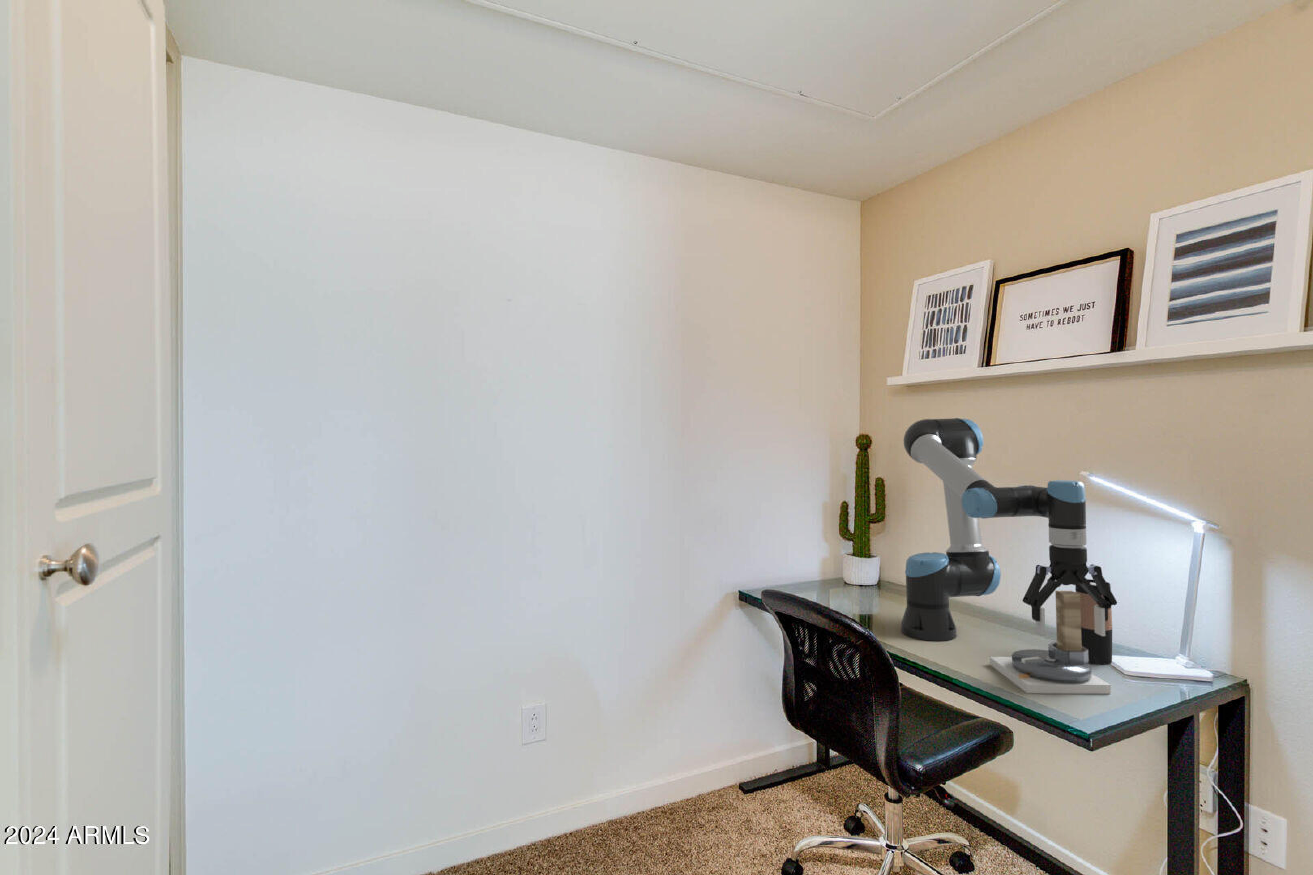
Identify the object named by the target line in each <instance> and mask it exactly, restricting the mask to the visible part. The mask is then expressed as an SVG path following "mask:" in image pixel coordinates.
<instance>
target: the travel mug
mask: <svg viewBox="0 0 1313 875" xmlns="http://www.w3.org/2000/svg"><path fill="white" fill-rule="evenodd" d="M1086 579H1087V580H1088V581H1089V582H1090V583H1091V585H1092V586H1093V587H1094V589H1095V590H1096V591H1097V592H1098V593H1099V594H1100V595H1101V596H1102V594H1101V592H1100V591H1099V589H1098V587H1097V585H1096V583H1095V582H1094V580H1093V579H1091V578H1090V579H1089V578H1086ZM1106 583H1107V585H1108V587H1109V588H1110V590H1111V591H1112V589H1111V587H1112V586H1111V583H1110V582H1107V581H1106ZM1074 586H1075V588H1074V589H1075V592H1076V593H1078V594H1080V607H1081V643H1082V646H1083V647H1085V648H1087V649H1088V659H1089V662H1088V663H1090V664H1095V665H1110V664H1112V663H1113V614H1112V612H1113V610H1112V609H1113V608H1112V607H1111V608H1110V609H1108V621H1105V636H1101V635H1099V634H1097V633H1095V623H1094V606H1099V605H1098V604H1097V603H1096V602H1095V601H1094V600H1093V598H1092V597H1091V596H1090V595H1089V594H1088V593H1087V592H1086V591H1085V590H1084V589H1083V588H1082V586H1081V585H1079V584H1078V585H1074ZM1102 597H1103V596H1102Z"/></svg>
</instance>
